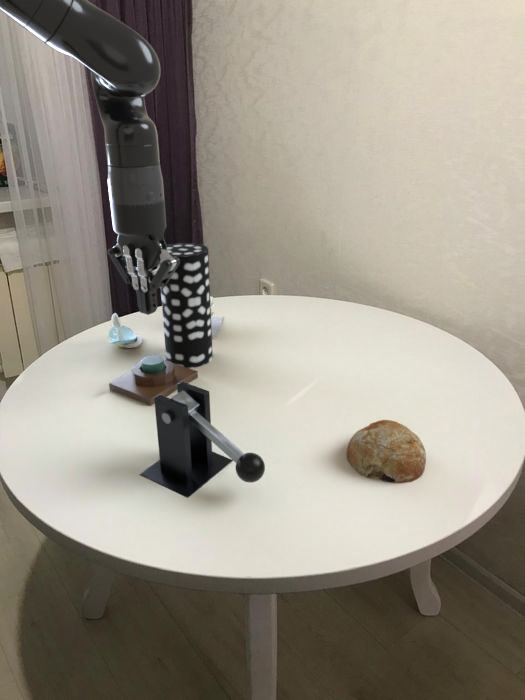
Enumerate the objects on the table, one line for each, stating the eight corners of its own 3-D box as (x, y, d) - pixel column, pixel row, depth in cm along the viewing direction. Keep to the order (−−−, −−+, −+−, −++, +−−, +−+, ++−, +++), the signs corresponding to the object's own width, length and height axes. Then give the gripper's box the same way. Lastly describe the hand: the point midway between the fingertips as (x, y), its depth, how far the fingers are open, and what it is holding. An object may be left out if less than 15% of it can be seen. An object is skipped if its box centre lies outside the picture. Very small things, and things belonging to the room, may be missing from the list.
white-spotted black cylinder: (158, 364, 104) (148, 254, 95) (178, 345, 111) (170, 241, 102) (202, 371, 101) (196, 258, 93) (219, 351, 109) (215, 245, 100)
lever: (264, 478, 70) (274, 461, 68) (247, 493, 67) (258, 476, 65) (180, 403, 74) (187, 385, 72) (161, 415, 71) (168, 396, 69)
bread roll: (343, 499, 76) (347, 470, 70) (346, 431, 83) (349, 399, 77) (422, 506, 75) (432, 477, 69) (418, 437, 82) (427, 404, 75)
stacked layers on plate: (216, 337, 114) (215, 310, 112) (171, 335, 115) (169, 309, 113) (223, 317, 123) (222, 292, 121) (181, 316, 124) (179, 291, 122)
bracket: (233, 467, 77) (231, 388, 72) (188, 505, 70) (182, 421, 65) (186, 447, 81) (181, 371, 76) (139, 481, 74) (130, 400, 69)
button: (153, 377, 92) (152, 367, 91) (137, 371, 94) (136, 361, 93) (169, 368, 94) (168, 358, 94) (153, 362, 96) (152, 353, 96)
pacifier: (139, 334, 116) (108, 337, 114) (138, 304, 113) (106, 307, 111) (144, 350, 109) (111, 353, 108) (142, 318, 107) (108, 321, 105)
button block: (151, 412, 89) (149, 389, 87) (110, 395, 94) (107, 373, 92) (198, 383, 97) (197, 361, 96) (158, 369, 102) (156, 348, 100)
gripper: (190, 197, 82) (197, 313, 89) (123, 188, 88) (134, 296, 96) (153, 207, 76) (163, 330, 84) (84, 196, 83) (99, 311, 90)
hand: (148, 312), depth 90 cm, fingers closed
